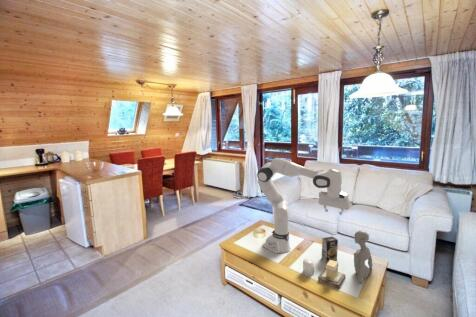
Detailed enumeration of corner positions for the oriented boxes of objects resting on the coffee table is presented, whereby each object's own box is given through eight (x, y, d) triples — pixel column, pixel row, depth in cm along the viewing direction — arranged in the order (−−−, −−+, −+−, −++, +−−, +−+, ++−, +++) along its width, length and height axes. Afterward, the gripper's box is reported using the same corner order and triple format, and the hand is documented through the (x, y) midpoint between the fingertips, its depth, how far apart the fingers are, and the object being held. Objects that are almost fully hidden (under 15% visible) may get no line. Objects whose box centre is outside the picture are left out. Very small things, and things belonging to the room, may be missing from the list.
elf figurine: (358, 263, 172) (360, 223, 168) (373, 268, 165) (376, 227, 161) (346, 278, 157) (348, 234, 152) (362, 285, 150) (364, 239, 145)
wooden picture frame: (318, 280, 155) (318, 276, 154) (325, 270, 165) (325, 266, 164) (339, 288, 147) (339, 284, 146) (345, 278, 157) (345, 273, 156)
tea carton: (326, 276, 154) (326, 264, 153) (329, 270, 160) (330, 259, 159) (334, 279, 151) (334, 267, 150) (337, 273, 157) (338, 262, 155)
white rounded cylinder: (301, 273, 163) (301, 262, 162) (305, 268, 169) (305, 257, 167) (311, 276, 159) (311, 265, 158) (315, 271, 164) (315, 260, 163)
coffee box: (326, 262, 174) (327, 241, 172) (321, 258, 180) (321, 237, 178) (337, 260, 176) (338, 239, 174) (331, 255, 183) (332, 235, 180)
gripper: (317, 192, 167) (316, 211, 169) (348, 197, 154) (347, 217, 156) (320, 189, 171) (320, 208, 173) (351, 194, 159) (350, 214, 161)
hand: (333, 212), depth 165 cm, fingers open, 8 cm apart
